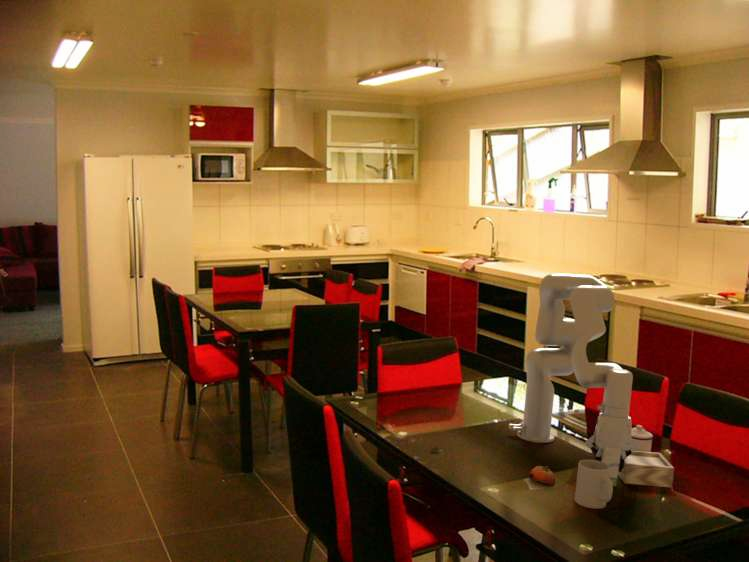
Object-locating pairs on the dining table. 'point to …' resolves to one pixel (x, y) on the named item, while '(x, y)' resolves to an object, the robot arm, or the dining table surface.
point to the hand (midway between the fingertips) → (608, 469)
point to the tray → (647, 469)
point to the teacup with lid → (641, 439)
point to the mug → (593, 484)
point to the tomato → (543, 475)
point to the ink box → (612, 461)
